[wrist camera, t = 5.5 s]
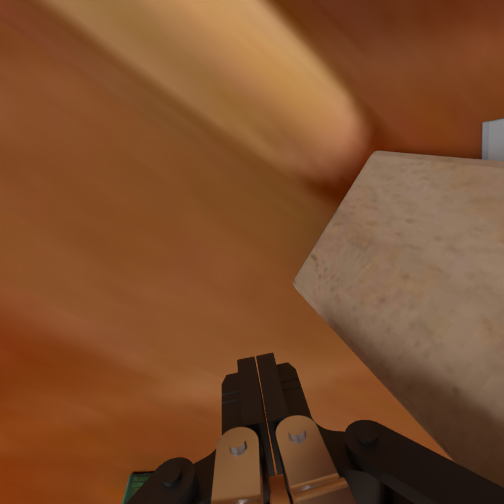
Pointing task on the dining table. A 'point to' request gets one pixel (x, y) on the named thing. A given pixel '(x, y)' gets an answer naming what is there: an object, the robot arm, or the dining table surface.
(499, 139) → the slate mat
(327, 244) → the wooden block
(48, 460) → the dining table surface
